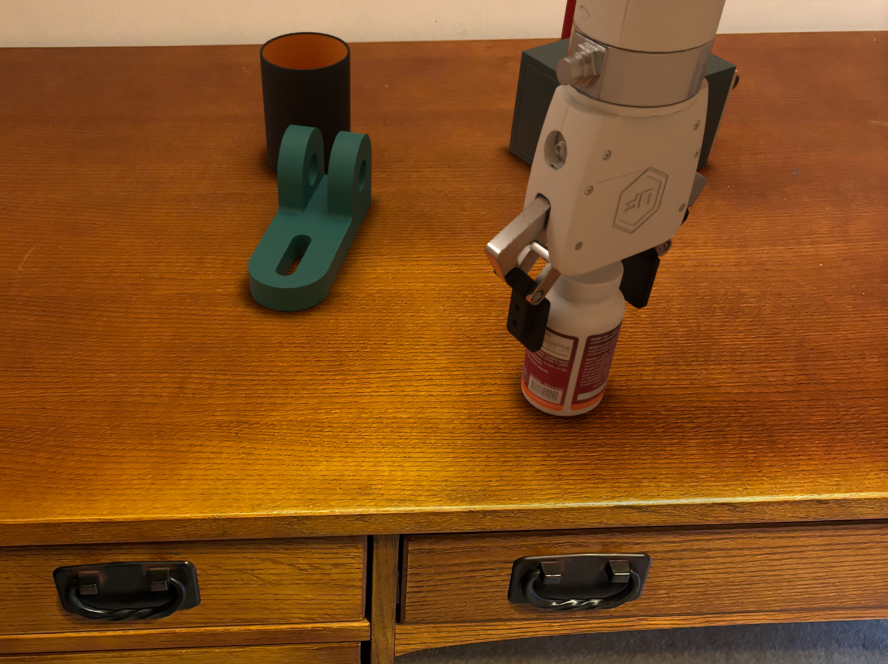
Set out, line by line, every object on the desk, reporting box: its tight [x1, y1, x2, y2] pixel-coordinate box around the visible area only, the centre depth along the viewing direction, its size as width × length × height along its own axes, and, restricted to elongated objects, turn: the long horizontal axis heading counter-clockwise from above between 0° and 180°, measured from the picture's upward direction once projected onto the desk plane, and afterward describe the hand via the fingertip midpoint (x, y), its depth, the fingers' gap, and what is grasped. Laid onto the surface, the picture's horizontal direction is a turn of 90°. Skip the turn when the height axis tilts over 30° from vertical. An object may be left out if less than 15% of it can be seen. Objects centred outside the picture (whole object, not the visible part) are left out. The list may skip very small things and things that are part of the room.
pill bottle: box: [520, 260, 626, 417], centre depth 64 cm, size 6×6×11 cm
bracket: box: [247, 125, 373, 312], centre depth 78 cm, size 18×7×8 cm, turn 165°
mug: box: [259, 31, 352, 175], centre depth 88 cm, size 8×12×10 cm
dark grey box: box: [508, 38, 737, 171], centre depth 87 cm, size 15×13×10 cm
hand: (576, 318), depth 63 cm, fingers open, 8 cm apart
